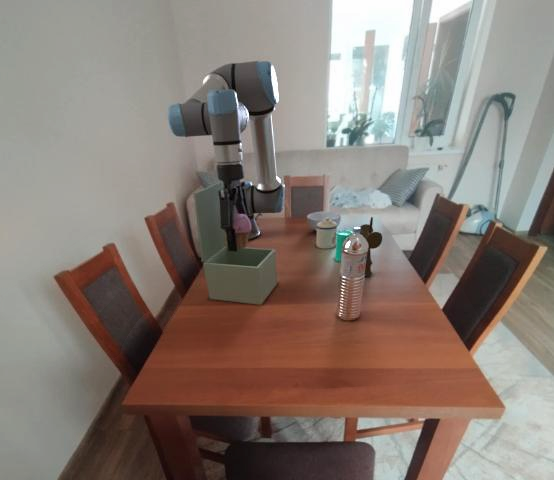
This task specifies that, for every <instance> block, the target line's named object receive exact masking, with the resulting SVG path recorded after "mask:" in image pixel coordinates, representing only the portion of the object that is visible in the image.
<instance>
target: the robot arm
mask: <svg viewBox="0 0 554 480" xmlns="http://www.w3.org/2000/svg"><path fill="white" fill-rule="evenodd" d="M278 89H279V88H278V81H277V75H276V71H275V68H274V65H273V64H272V63H271V62H270V61H269V60H267V61H265V60H262V61H261V60H254V61H244V62H232V63H227V64H224V65H220V66H219V67H217V68H216V69H214V70H213V71H211V72H210V73H208V75H206V76H205V78H204V79H203V81H202V84H201V87H199V89H198V90H197V91H195V92H194V93H193V94H192V95H191V96H190V97H189V98H188V99H187V100H186V101H185V102H184V103H179V102H178V103H177V102H176V103H175V104H170V105H169V106H168V109H167V120H168V123H169V128H170V130H171V132H172V134H173V135H174V136H176V137H177V138H178V137H179V138H181V137H182V138H183V137H185V138H189V137H203V136H205V137H206V136H211V137H212V144H213V145H212V146H213V152H214V161H215V163H217V165H216V166H215V167H216V174H217V179H218V180H219V181H220V182H222V186H223V190H219V191H218V194H219V199H220V218H221V228H222V229H225V230H226V245H227V246H228V251H236V252H237V243H236V234H235V229H233V222H234V213H236V214H245V215H246V216H247V217H248V218H249V220H250V222H251V230H250V231H249V236H248V242H250V241H251V240H253V239H257V238H259V237H260V234H261V233H260V229H259V226H258V222H257V221H256V220H257V219H258V218H259V217H260V216H261V217H262V216H263V214H279V213H280V214H281V212H282V211H283V210H284V209H283V208H284V202H285V184H282V182H281V179H280V178H279V177H278V176H277V164H276V163H277V162H276V152H275V151H276V150H275V141H274V140H275V139H274V129H273V118H272V117H273V116H272V114H273V113H274V111H275V109H276V105H277V104H278V102H279V90H278ZM248 126H249V128H250V134H251V142H252V149H253V150H252V151H253V157H254V163H255V172H256V181H255V182H254V185H253V183H252V181H241V180H243V179H244V178H245V168H244V166H245V165H244V164H243V163H242V161H243V160H244V159H243V152H244V148H243V147H242V138H241V137H242V136H241V133H244V131H245V130H246V129H247V127H248ZM255 214H257V215H256V216H255Z"/></svg>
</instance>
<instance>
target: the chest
mask: <svg viewBox="0 0 554 480" xmlns="http://www.w3.org/2000/svg"><path fill="white" fill-rule="evenodd" d="M276 253H277V252H276V249H274V248H260V247H247V246H246V247H245V248H241V249H237V252H236V251H228V245H226V246H224V247H223V248H222V249H220V250H219V251H218V252H216V253H215V254H214V255H212V256H211V257H210V258H209V259H207V260H206V261H205V262H202V266H203V270H204V271H203V272H204V275H205V281H206V286H207V292H208V296H209V300H213V301H214V300H215V301H223V302H233V303H242V304H251V305H258V306H259V305H260V306H261V305H262V304H263V303H264V302H265V300H267V298H268V297H269V296H270V294H271V293H272V291H273V290H274V289H275V288H276V286H277V285H278V274H277V255H276Z"/></svg>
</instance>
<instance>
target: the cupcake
mask: <svg viewBox="0 0 554 480" xmlns="http://www.w3.org/2000/svg"><path fill="white" fill-rule="evenodd" d="M233 229H235V234H236V243H237V249H241V248H245V247H246V248H247V246H248V243H249V241H248V236H249V231H250V230H251V222H250V220H249V218H248V217H247V216H246V215H245V214H236V213H234V222H233ZM223 230H224V231H225V233H226V230H225V229H223Z"/></svg>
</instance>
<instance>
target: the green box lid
mask: <svg viewBox="0 0 554 480" xmlns="http://www.w3.org/2000/svg"><path fill="white" fill-rule="evenodd" d="M219 190H223V181H218V182H217V183H214V184H211V185H210V186H207V187H205V188H202V189H200V190H197V191H195V192H193V197H194V199H193V200H194V207H195V216H196V217H195V218H196V225H197V226H196V227H197V233H198V243H199V250H200V258H201V259H200V261H201V263H204V262H206V261H207V260H208V259H209V258H211V257H212V256H213V255H215V254H216V253H217V252H219V251H220V250H221V249H222V248H224V247H225V246H227V236H226V233H225V231H224V230H223V229H222V228H221V218H220V199H219V194H218V191H219Z"/></svg>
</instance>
